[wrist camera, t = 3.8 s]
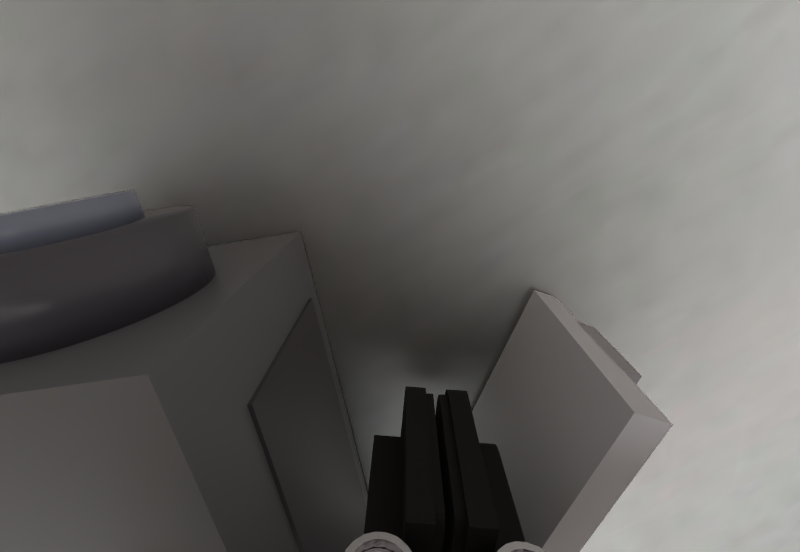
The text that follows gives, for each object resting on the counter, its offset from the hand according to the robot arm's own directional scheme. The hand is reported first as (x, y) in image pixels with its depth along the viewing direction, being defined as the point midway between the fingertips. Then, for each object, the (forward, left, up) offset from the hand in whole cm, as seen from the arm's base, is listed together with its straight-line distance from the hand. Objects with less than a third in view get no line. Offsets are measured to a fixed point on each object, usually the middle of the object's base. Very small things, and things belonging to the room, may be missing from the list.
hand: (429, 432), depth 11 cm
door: (+4, +1, -3) cm, 6 cm away
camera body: (+2, -7, -4) cm, 8 cm away
